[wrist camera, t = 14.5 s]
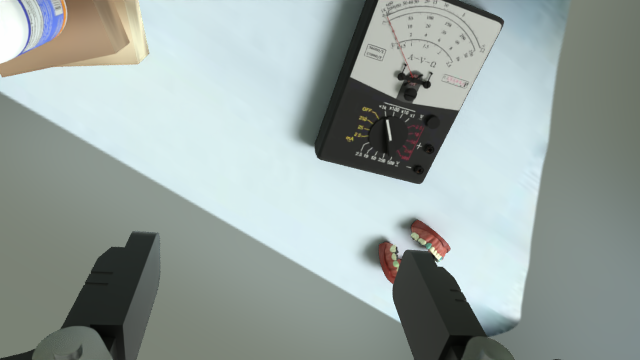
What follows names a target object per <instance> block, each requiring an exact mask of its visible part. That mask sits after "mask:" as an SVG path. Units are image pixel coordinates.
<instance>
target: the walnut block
mask: <svg viewBox="0 0 640 360" xmlns="http://www.w3.org/2000/svg"><path fill="white" fill-rule="evenodd" d="M65 3H66V7H67V21H66V24H65V27H64V29H63V30H62V32H61V33H60V34H59V35H58V36H57V37H56V38H54V39H53V40H51V41H49V42H47V43H45V44H43V45H41V46H38V47H36V48H34V49H32V50H30V51H28V52H26V53H24V54H21V55H19V56H17V57H15V58H13V59H11V60H9V61H7V62H4V63H1V64H0V74H1V76H2V77H7V76H12V75H17V74H21V73H26V72H31V71H36V70H40V69H45V68H50V67H55V66H60V65H64V64H69V63H74V62H79V61H84V60H88V59H93V58H98V57H103V56H108V55H112V54H116V53H117V52H119V51H120V50H121V49H123V48H124V47H125V46H127V45H128V44H129V43H130V41H129V39H128V37H127V34H126V32H125V29H124V27H123V24H122V22H121V19H120V17H119V14H118V12H117V9H116V7H115V4H114V2H113V0H65Z"/></svg>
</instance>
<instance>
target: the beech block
mask: <svg viewBox="0 0 640 360" xmlns="http://www.w3.org/2000/svg"><path fill="white" fill-rule="evenodd" d="M113 2H114V4H115V7H116V9H117V12H118V14H119V17H120V19H121V22H122V24H123V27H124V29H125V32H126V34H127V37H128V39H129V41H130V43H129V44H128V45H127V46H125V47H124V48H123V49H121V50H120V51H119V52H117V53H116V54H112V55H108V56H103V57H98V58H93V59H88V60H84V61H79V62H74V63H69V64H64V65H60V66H55V67H63V66H96V65H129V64H139V63H140V62H141V61H142V60H143V59H144V58H145V57H146V56H147V55H148V54H149V51H148V46H147V41H146V36H145V31H144V26H143V21H142V17H141V12H140V7H139V2H138V0H113Z"/></svg>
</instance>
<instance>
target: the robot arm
mask: <svg viewBox="0 0 640 360" xmlns="http://www.w3.org/2000/svg"><path fill="white" fill-rule="evenodd" d="M159 280H160V236H159V233H155V232H140V231H133V232H132V233H131V235H130V237H129V239H128V242H127V244H126V246H125V248H124V247H111V248H110V249H108V250H107V251H106V252H105V253H103V254H102V255H101V256H100V257H99V258H98V259H97V261H96V263H95V265H94V267H93V269H92V270H91V274H89V276H88V278H87V280H86V282H85V285H84V286H83V288H82V290H81V291H80V293H79V295H78V297H77V299H76V301H75V303H74V305H73V307H72V308H71V310H70V312H69V315H68V316H67V318H66V320H65V322H64V324H63V326H62V327H61V329H60V330H58V331H55V332H53V333H52V334H50V335H49V336H47V337H46V338H44V339H43V340H42V341H41V342H40V343H39V344H38V346H37V347H36V349H33V350H31V351H28V352H25V353H21V354H18V355H13V356H9V357H5V358H1V359H0V360H136V359H137V356H138V352H139V349H140V346H141V343H142V339H143V336H144V333H145V330H146V326H147V323H148V320H149V317H150V313H151V310H152V307H153V304H154V300H155V297H156V294H157V290H158V286H159ZM393 301H394V304H395V307H396V309H397V312H398V315H399V318H400V321H401V323H402V326H403V329H404V332H405V334H406V337H407V340H408V343H409V346H410V349H411V352H412V354H413V357H414V360H515V359H514V357H513V355H512V354H511V353H510V351H508V349H507V348H505V347H504V346H503V345H502V344H500V343H499V342H497V341H496V340H493V339H491V338H488V337H487V336H486V334H485V332H484V330H483V328H482V327H481V325H480V323H479V321H478V319H477V318H476V316H475V314H474V312H473V311H472V309H471V307H470V305H469V303H468V302H466V298H465V296H464V294H463V293H462V292H461V289H460V287H459V285H458V284H457V282H456V280H455V278H454V277H453V276H452V275H451V274H450V273H449V272H448V271H446V270H445V269H444V268H443V267H437V265H436V263H435V261H434V259H433V257H432V255H431V253H430V252H428V251H418V250H406V251H405V252H404V254H403V257H402V260H401V263H400V266H399V268H398V271H397V274H396V277H395V280H394V283H393ZM555 360H558V359H555Z"/></svg>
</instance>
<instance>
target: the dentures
mask: <svg viewBox="0 0 640 360" xmlns="http://www.w3.org/2000/svg"><path fill="white" fill-rule="evenodd" d="M411 226H412V227H411V230H412V234H411V237H412V239H413V240H415V241H416V242H420V243H421V245H426V248H427V249H428V252H430V253H431V255H432V257H433V259H434V261H436V262H440V261H441V260H442V259H443V258H444V256H445V254H446V253H448V252H449V251H450V246H449V245H448V243H447V242H446V241H445V240H444V239H443V238H442V237H441V236H440V235H439V234H437V233H436V232H435V231H434V230H433V229H431V228H430V227H429V226H427V225H426V224H424V223H423V222H421V221H419V220H416V221H415V222H414V223H413V224H412V225H411ZM426 243H427V244H426ZM397 253H398V250H397V247H396V245H393V244H391V243H387V242H384V243H381V244H379V259H380V264H381V267H382V270H383V272H384V274H385V276H386V278H387V279H388V280H389V281H390V282H391V283H392V284H393V283H394V280H395V277H396V274H397V271H398V268H399V266H400V263H401V260H400V259H398V255H397Z"/></svg>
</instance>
